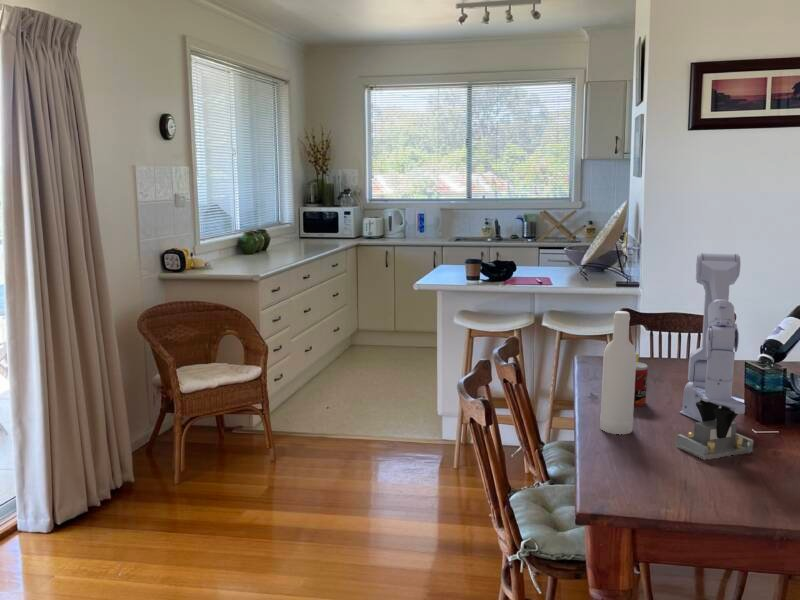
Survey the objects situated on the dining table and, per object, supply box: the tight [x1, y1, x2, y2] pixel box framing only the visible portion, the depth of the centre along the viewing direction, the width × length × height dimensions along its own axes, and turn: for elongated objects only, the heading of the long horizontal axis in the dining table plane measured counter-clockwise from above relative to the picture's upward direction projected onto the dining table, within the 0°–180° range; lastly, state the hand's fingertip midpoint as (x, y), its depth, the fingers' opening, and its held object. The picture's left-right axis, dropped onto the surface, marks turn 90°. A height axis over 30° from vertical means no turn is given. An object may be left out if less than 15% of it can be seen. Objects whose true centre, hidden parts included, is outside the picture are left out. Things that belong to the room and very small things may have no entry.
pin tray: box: [675, 431, 754, 461], centre depth 176 cm, size 9×14×4 cm, turn 110°
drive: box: [693, 420, 738, 449], centre depth 176 cm, size 4×9×6 cm, turn 110°
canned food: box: [634, 361, 649, 407], centre depth 212 cm, size 8×8×11 cm
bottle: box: [599, 310, 637, 436], centre depth 188 cm, size 8×8×30 cm
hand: (715, 434), depth 176 cm, fingers closed on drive, 3 cm apart
